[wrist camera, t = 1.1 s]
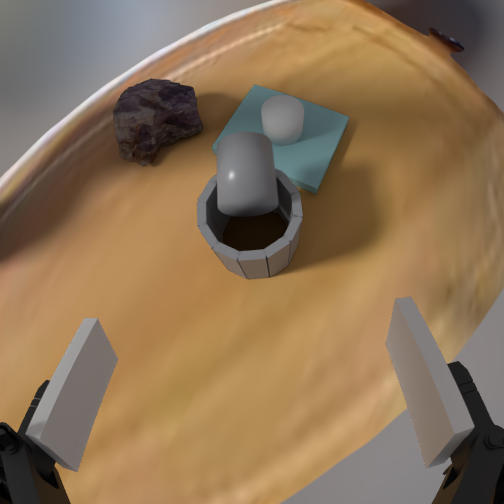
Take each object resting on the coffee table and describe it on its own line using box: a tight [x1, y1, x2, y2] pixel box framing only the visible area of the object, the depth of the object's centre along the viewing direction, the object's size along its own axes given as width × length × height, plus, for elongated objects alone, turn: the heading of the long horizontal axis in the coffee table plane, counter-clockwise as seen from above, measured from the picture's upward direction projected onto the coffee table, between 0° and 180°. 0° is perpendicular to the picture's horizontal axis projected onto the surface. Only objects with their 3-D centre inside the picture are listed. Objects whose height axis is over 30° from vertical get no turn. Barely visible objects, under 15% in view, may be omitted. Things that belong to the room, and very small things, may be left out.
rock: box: [113, 78, 203, 166], centre depth 38 cm, size 12×9×10 cm
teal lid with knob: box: [212, 85, 349, 194], centre depth 37 cm, size 14×12×6 cm
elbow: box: [197, 131, 303, 279], centre depth 31 cm, size 11×9×12 cm
